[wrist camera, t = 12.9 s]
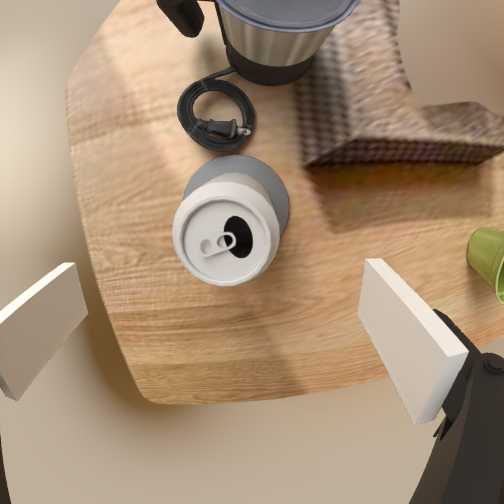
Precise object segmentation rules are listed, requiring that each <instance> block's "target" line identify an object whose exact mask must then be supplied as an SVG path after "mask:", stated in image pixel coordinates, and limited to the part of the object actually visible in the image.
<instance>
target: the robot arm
mask: <svg viewBox="0 0 504 504" xmlns="http://www.w3.org/2000/svg"><path fill="white" fill-rule="evenodd" d="M87 314H88V311H87V307H86V304H85V300H84V297H83V293H82V289H81V286H80V281H79V278H78V273H77V269H76V265H75V263H63V264H61V265H60V266H58V267H57V268H56V269H54V270H53V271H51V272H50V273H49V274H47V275H46V276H45V277H43V278H42V279H41V280H40V281H38V282H37V283H35V284H34V285H33V286H31V288H29V289H28V290H26V291H25V292H24V293H22V294H21V295H20V296H19V297H17V298H16V299H15V300H14V301H12V302H11V303H10V304H9V305H8V306H6V307H5V308H4V309H3V310H2V311H0V388H1V389H2V391H3V392H4V394H5V396H7V397H9V398H11V399H13V400H15V401H18V400H19V399H20V398H21V396H22V395H23V393H24V392H25V391H26V389H27V388H28V387H29V385H30V384H31V383H32V381H33V380H34V379H35V377H36V376H37V375H38V374H39V372H40V371H41V370H42V368H43V367H44V366H45V365H46V363H47V362H48V361H49V360H50V358H51V357H52V356H53V354H54V353H55V352H56V351H57V350H58V348H59V347H60V346H61V345H62V343H63V342H64V341H65V340H66V339H67V338H68V336H69V335H70V334H71V333H72V332H73V330H74V329H75V328H76V327H77V326H78V324H79V323H80V322H81V321H82V320H83V319H84V318H85V316H86V315H87ZM357 315H358V317H359V319H360V321H361V323H362V324H363V326H364V328H365V330H366V332H367V333H368V335H369V337H370V339H371V341H372V343H373V345H374V347H375V348H376V350H377V352H378V354H379V356H380V358H381V360H382V362H383V364H384V366H385V368H386V370H387V371H388V373H389V375H390V377H391V379H392V381H393V383H394V385H395V387H396V389H397V391H398V393H399V395H400V398H401V399H402V402H403V404H404V406H405V408H406V410H407V412H408V414H409V416H410V418H411V420H412V423H413V425H414V426H415V425H418V424H422V423H425V422H429V421H432V420H434V419H435V417H436V416H437V414H438V412H439V410H440V409H441V407H442V408H443V410H444V412H445V414H446V416H445V418H444V420H443V421H442V423H441V424H440V426H439V427H438V429H437V430H436V432H435V434H434V435H433V437H436V436H437V434H438V436H437V439H436V442H435V444H434V448H433V450H432V453H431V455H430V458H429V461H428V463H427V465H426V468H425V470H424V472H423V475H422V477H421V479H420V482H419V484H418V486H417V488H416V490H415V492H414V494H413V496H412V498H411V500H410V502H409V504H504V358H502V357H501V356H499V355H496V354H494V353H483V354H481V353H480V351H479V350H478V349H477V348H476V347H475V346H474V345H473V343H472V342H471V341H470V340H469V339H468V338H467V337H466V336H465V335H464V333H463V332H461V330H460V329H459V328H458V327H457V326H455V325H454V323H453V322H452V321H451V319H450V318H449V317H448V316H447V315H445V314H443V313H441V312H440V311H438V310H436V309H433V310H432V309H431V308H430V307H429V306H428V305H427V304H426V303H425V302H424V301H423V300H422V299H421V298H420V297H419V296H418V294H417V293H416V292H415V291H414V290H413V289H412V288H411V287H410V286H409V285H408V284H407V283H406V282H405V281H404V280H403V279H402V278H401V277H400V276H399V275H398V274H397V273H396V272H395V271H394V270H393V269H392V268H391V267H390V266H389V265H388V264H386V263H385V262H384V261H383V260H382V259H381V258H377V259H365V265H364V273H363V280H362V287H361V294H360V301H359V307H358V313H357ZM0 504H11V501H10V496H9V492H8V487H7V482H6V477H5V470H4V464H3V456H2V447H1V437H0Z"/></svg>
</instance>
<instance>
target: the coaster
mask: <svg viewBox="0 0 504 504" xmlns="http://www.w3.org/2000/svg"><path fill="white" fill-rule="evenodd" d="M225 173H242V174H246V175H249V176H251V177H253V178H254V179H256V180H257V181H259V182H260V183H261V184H262V185H263V187H264V188H265V189H266V190H267V192H268V195H269V197H270V200H271V202H272V205H273V208H274V211H275V214H276V217H277V220H278V223H279V236H280V235H281V234H282V232H283V230H284V228H285V226H286V223H287V219H288V214H289V201H288V196H287V192H286V189H285V187H284V185H283V183H282V181H281V179H280V178H279V177H278V175H277V174H276V173H275V172H274V171H273V170H272V169H271V168H270V167H269V166H268V165H266V164H265V163H263V162H261V161H259V160H257V159H255V158H252V157H249V156H243V155H228V156H223V157H219V158H216V159H214V160H211V161H210V162H208V163H206V164H205V165H203V166H202V167H201V168H200V169H199V170H198V171H197V172H196V173H195V174H194V175H193V176H192V178H191V179H190V181H189V183H188V184H187V187H186V189H185V192H184V196H183V201H184V200H185V199H186V198H187V197H188V196H189V195H190V194H191V193H192V192H193V191H195V190H196V189H197V188H199V187H201V186H202V185H204V184H205V183H207V182H209V181H210V180H212V179H213V178H216V177H218V176H220V175H223V174H225Z"/></svg>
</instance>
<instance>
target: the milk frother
mask: <svg viewBox="0 0 504 504" xmlns="http://www.w3.org/2000/svg"><path fill="white" fill-rule="evenodd" d="M198 1H211V2H214V3H215V8H216V12H217V16H218V20H219V24H220V28H221V32H222V36H223V41H224V45H226V53H227V58H228V60H229V62H230V64H231V67H229V68H227V69H225V70H222V71H220V72H217V73H214V74H212V75H209V76H207V77H205V78H203V79H200V80H199V81H196V82H194V83H193V84H191V85H190V86H189V87H188V88H187V89H186V90H185V91H184V92H183V93H182V95H181V96H180V98H179V101H178V105H177V114H178V119H179V121H180V123H181V125H182V127H183V128H184V130H185V131H186V132H187V134H188V135H189V136H190V137H191V138H192V139H193V140H194V141H196V142H197V143H198V144H199V145H201V146H203V147H205V148H207V149H209V150H213V151H229V150H233V149H235V148H237V147H239V146H241V145H242V144H243V143H244V142H245V141H246V140H247V138H248V137H249V136H250V134H251V131H252V129H253V123H254V110H253V106H252V104H251V103H250V101H249V99H248V98H247V96H246V95H245V93H244V92H243V91H242V90H241V89H239V88H238V87H237V86H235V85H234V84H231V83H229V82H226V81H222V80H216V79H215V78H217V77H220V76H223V75H227V74H230V73H233V72H235V71H236V72H237V73H238V74H239V75H241V76H242V77H244V78H245V79H247V80H249V81H251V82H254V83H257V84H260V85H266V86H279V85H285V84H288V83H291V82H293V81H295V80H297V79H299V78H300V77H302V76H303V75H304V74H305V73H306V72H307V71H308V69H309V68H310V66H311V65H312V62H313V59H314V55H315V53H316V52H317V50H318V49H319V47H320V46H321V45H322V43H323V42H324V41H325V39H326V38H327V37H328V35H329V34H330V32H331V31H332V30H333V28H334V27H335V26H336V25H337V24H338V23H340V22H342V21H343V20H344V19H346V18H347V17H348V16H349V15H350V14H351V13H352V11H353V10H354V8H355V7H356V6H357V5H358V4H359V2H360V0H198ZM156 2H157V5H158V6H159V8H160V9H161V10H162V11H163V12H164V14H165V15H166V16H167V17H168V18H169V19H170V21H171V22H172V23H173V24H174V25H175V26H176V27H177V29H178V30H179V31H180V32H181V33H182V34H183V35H184V36H186V37H191V38H193V37H197V36H198V35H199V33H200V31H201V29H202V26H203V22H204V15H203V12H202V10H201V8H200V6H199V4H198V2H197V0H156ZM207 91H220V92H223V93H225V94H227V95H229V96H230V97H231V98H233V99H234V100H235V101H236V103H237V104H238V106H239V107H240V110H241V112H242V117H243V125H242V127H238V126H237V125H236V119H232V120H231V121H229V122H228V121H214V120H212V119H210V120H209V121H204V120H202V119H197V118H196V117H195V116H194V113H193V104H194V102H195V100H196V99H197V98H198V97H199V96H200V95H201V94H203V93H205V92H207ZM205 131H206V132H205ZM209 133H213V134H216V135H220V136H224V137H225V139H218V138H215V137H212V136H210V135H209Z"/></svg>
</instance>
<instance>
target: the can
mask: <svg viewBox="0 0 504 504" xmlns="http://www.w3.org/2000/svg"><path fill="white" fill-rule="evenodd" d="M172 236H173V243H174V248H175V250H176V253H177V255H178V257H179V259H180V261H181V262H182V264H183V265H184V266H185V268H186V269H187V270H188V271H189V272H190V273H191V274H192V275H193V276H194V277H196V278H198V279H199V280H201V281H203V282H205V283H207V284H211V285H215V286H219V287H226V286H236V285H240V284H242V283H245V282H248V281H251V280H253V279H255V278H256V277H257V276H259V275H260V274H261V273H263V272H264V271H265V270H266V269H267V268H268V266H269V265H270V263H271V262H272V261H273V259H274V258H275V255H276V252H277V249H278V245H279V242H280V236H279V223H278V220H277V217H276V214H275V211H274V208H273V205H272V202H271V200H270V197H269V195H268V192H267V190H266V189H265V188H264V187H263V185H262V184H261V183H260V182H259V181H257V180H256V179H254V178H253V177H251V176H249V175H246V174H242V173H225V174H223V175H220V176H218V177H216V178H213V179H212V180H210V181H209V182H207V183H205V184H204V185H202V186H201V187H199V188H197V189H196V190H195V191H193V192H192V193H191V194H190V195H189V196H188V197H187V198H186V199H185V200H184V201H183V202H182V203H181V205H180V207H179V209H178V211H177V212H176V214H175V217H174V222H173V228H172Z"/></svg>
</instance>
